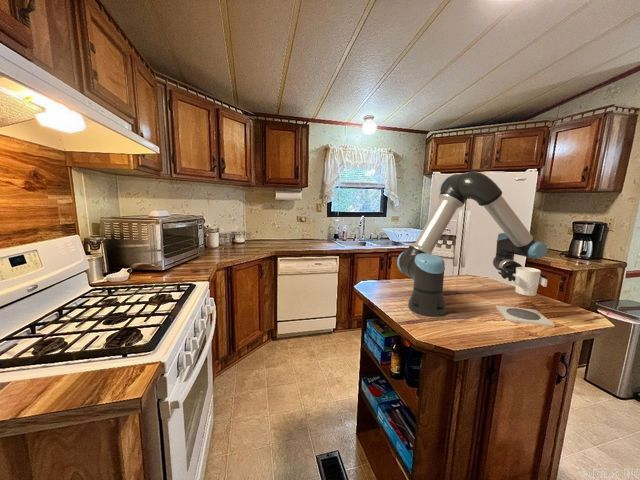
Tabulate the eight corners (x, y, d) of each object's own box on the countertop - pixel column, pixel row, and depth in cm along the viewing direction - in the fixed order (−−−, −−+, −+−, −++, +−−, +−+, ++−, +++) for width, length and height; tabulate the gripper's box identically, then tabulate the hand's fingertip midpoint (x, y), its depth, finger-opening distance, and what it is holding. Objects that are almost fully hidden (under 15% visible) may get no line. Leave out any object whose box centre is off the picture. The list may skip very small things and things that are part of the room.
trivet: (507, 320, 103) (507, 318, 103) (495, 307, 117) (495, 304, 117) (554, 326, 98) (554, 324, 98) (536, 311, 112) (536, 309, 112)
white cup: (528, 297, 102) (530, 272, 100) (508, 291, 109) (511, 267, 108) (543, 295, 104) (546, 270, 102) (523, 289, 111) (525, 266, 110)
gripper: (536, 278, 120) (564, 294, 98) (485, 274, 126) (500, 288, 105) (538, 262, 119) (566, 275, 97) (486, 259, 125) (502, 270, 104)
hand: (532, 282), depth 101 cm, fingers closed on white cup, 8 cm apart
